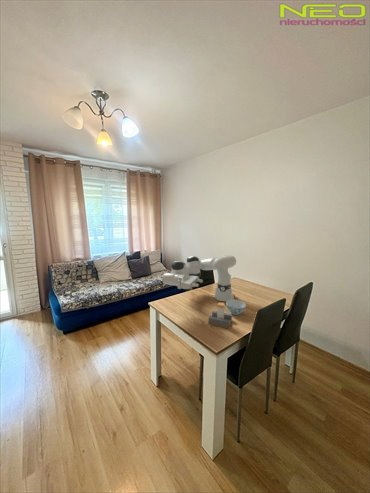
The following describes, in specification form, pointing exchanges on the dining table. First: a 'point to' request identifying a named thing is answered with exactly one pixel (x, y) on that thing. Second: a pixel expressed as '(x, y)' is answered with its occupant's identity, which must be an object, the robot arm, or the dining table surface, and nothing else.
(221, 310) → the plug post
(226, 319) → the duct block
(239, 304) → the chinaware
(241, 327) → the dining table surface
